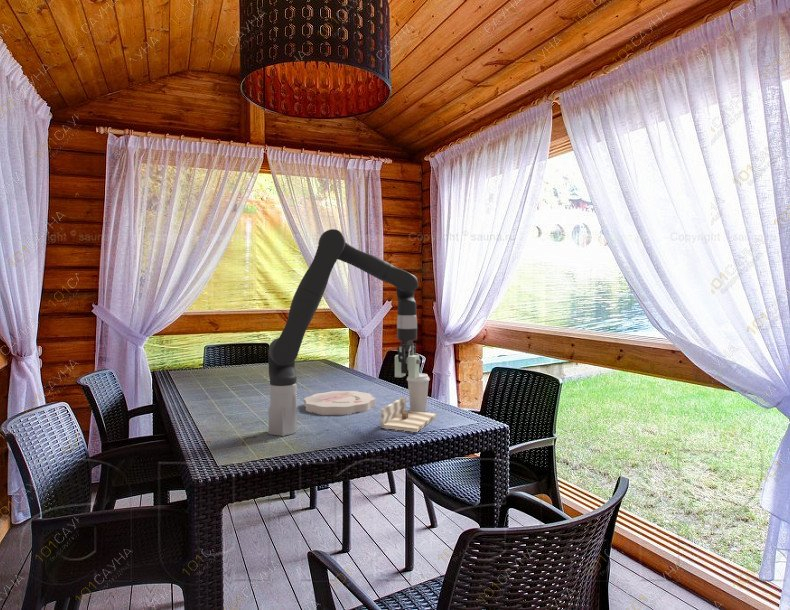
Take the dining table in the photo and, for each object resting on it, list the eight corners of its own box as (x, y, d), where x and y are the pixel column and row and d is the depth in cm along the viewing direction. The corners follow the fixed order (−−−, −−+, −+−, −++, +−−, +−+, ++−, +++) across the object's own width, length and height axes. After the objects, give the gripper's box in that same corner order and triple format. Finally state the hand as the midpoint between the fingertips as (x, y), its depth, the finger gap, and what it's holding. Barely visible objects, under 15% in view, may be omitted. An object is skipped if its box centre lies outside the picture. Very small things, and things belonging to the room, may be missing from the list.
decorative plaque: (338, 388, 232) (388, 396, 214) (338, 395, 233) (388, 405, 214) (289, 399, 208) (341, 410, 190) (289, 408, 209) (341, 420, 190)
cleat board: (417, 433, 173) (417, 413, 172) (380, 428, 178) (380, 409, 178) (436, 417, 193) (436, 399, 193) (403, 413, 198) (403, 396, 198)
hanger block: (417, 378, 181) (417, 357, 181) (394, 377, 184) (394, 355, 184) (421, 376, 186) (421, 355, 185) (399, 374, 189) (399, 354, 189)
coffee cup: (403, 409, 206) (403, 373, 205) (423, 407, 209) (423, 372, 209) (412, 414, 197) (412, 377, 196) (433, 412, 201) (433, 376, 200)
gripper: (409, 328, 176) (409, 376, 177) (422, 325, 190) (422, 369, 190) (390, 328, 179) (390, 374, 180) (404, 325, 192) (404, 368, 193)
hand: (407, 371), depth 185 cm, fingers closed on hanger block, 5 cm apart
